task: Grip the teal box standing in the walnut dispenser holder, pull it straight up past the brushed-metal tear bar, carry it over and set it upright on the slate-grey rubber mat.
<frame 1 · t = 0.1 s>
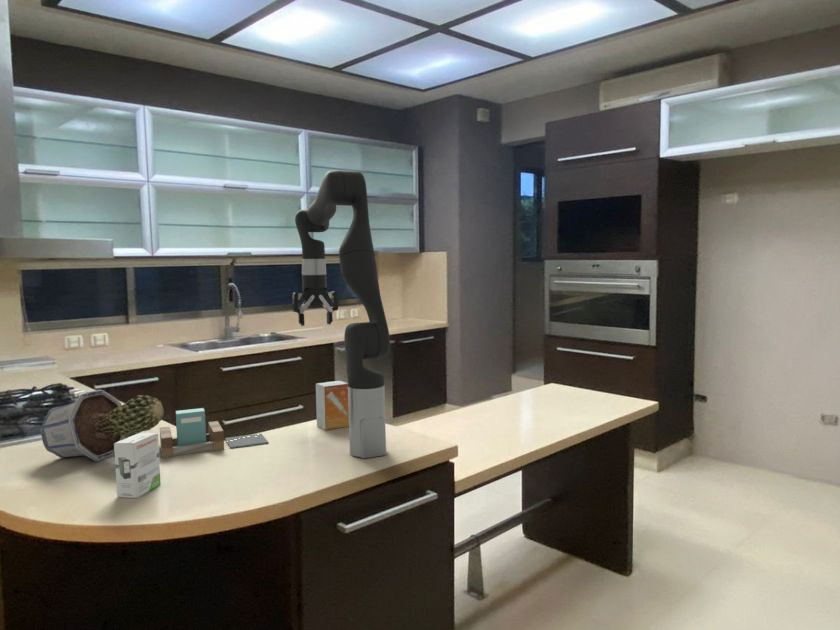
hand: (315, 324, 195), 29 cm above the counter, fingers open, 8 cm apart
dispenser: (192, 447, 164), on the counter
mat: (246, 441, 169), on the counter
ink box: (139, 491, 133), on the counter
small box: (333, 427, 184), on the counter
teal box: (192, 447, 164), resting in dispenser
potted plant: (108, 458, 157), on the counter
bracket: (103, 439, 176), on the counter
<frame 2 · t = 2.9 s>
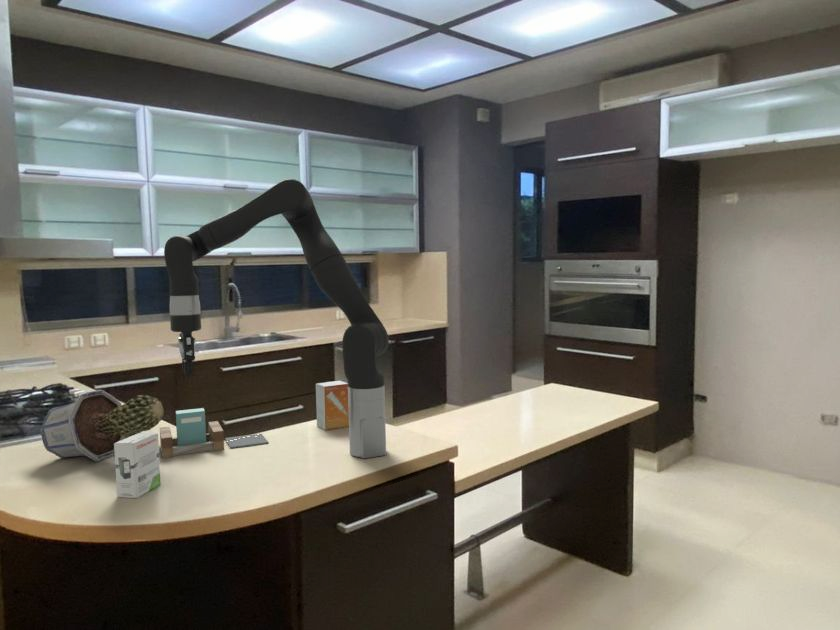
hand: (188, 373, 163), 20 cm above the counter, fingers open, 8 cm apart
nothing on the counter moved.
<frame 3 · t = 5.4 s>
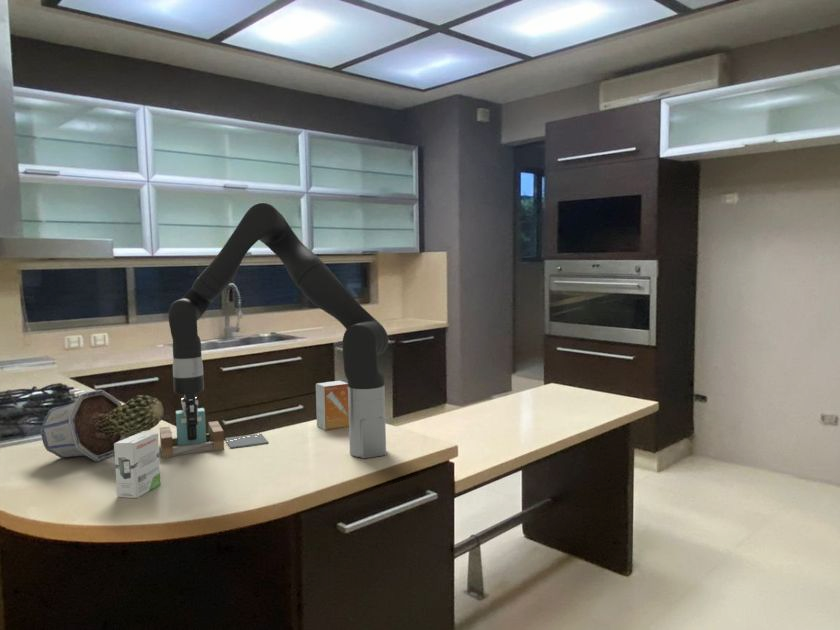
hand: (191, 437, 164), 3 cm above the counter, fingers closed on teal box, 4 cm apart
teal box: (192, 447, 164), resting in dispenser, touching gripper
everything else where it was.
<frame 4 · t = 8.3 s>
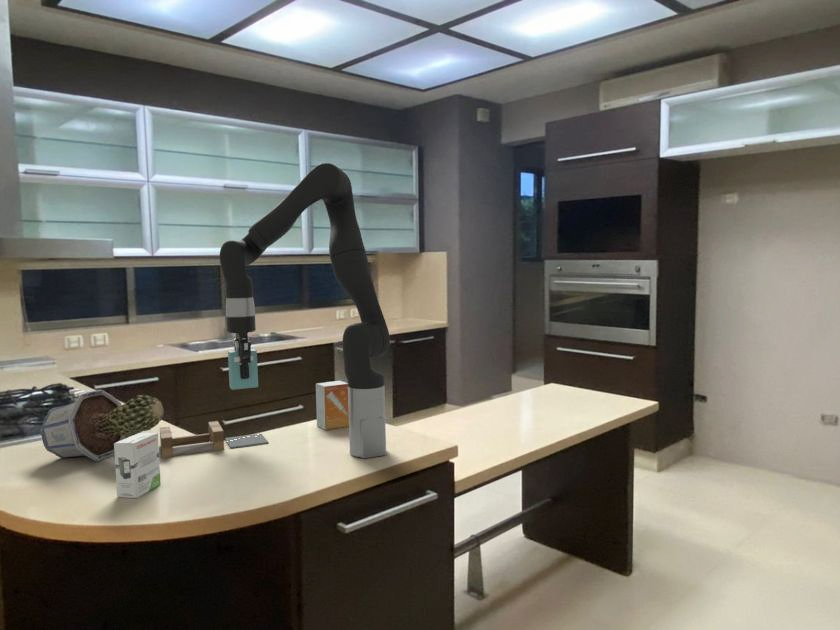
hand: (243, 377, 168), 18 cm above the counter, fingers closed on teal box, 4 cm apart
teal box: (243, 387, 168), point 15 cm above the counter, touching gripper
everything else where it was.
when the fingers open (4 cm above the counter, at t = 11.1 s): teal box stays where it is, resting on mat.
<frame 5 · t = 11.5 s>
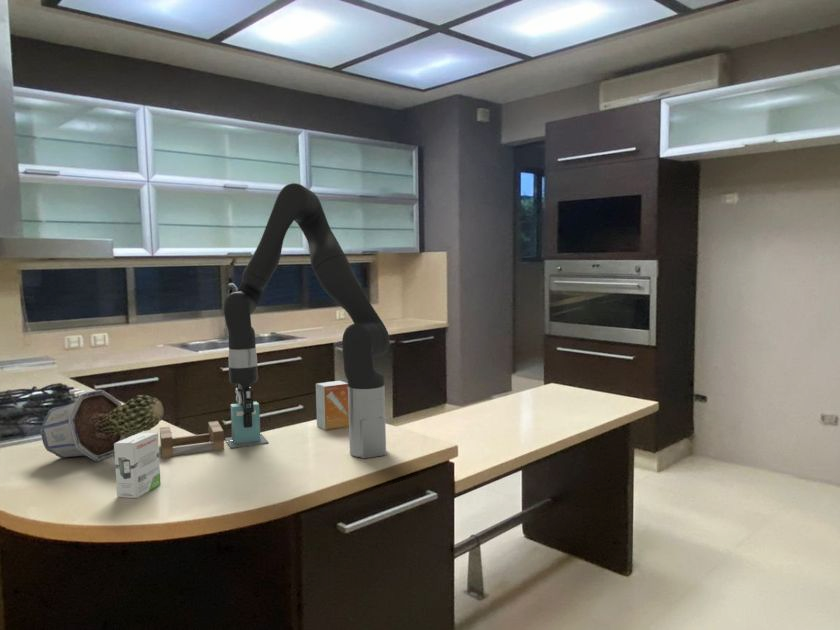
hand: (245, 424, 169), 5 cm above the counter, fingers open, 7 cm apart
teal box: (246, 440, 169), resting on mat
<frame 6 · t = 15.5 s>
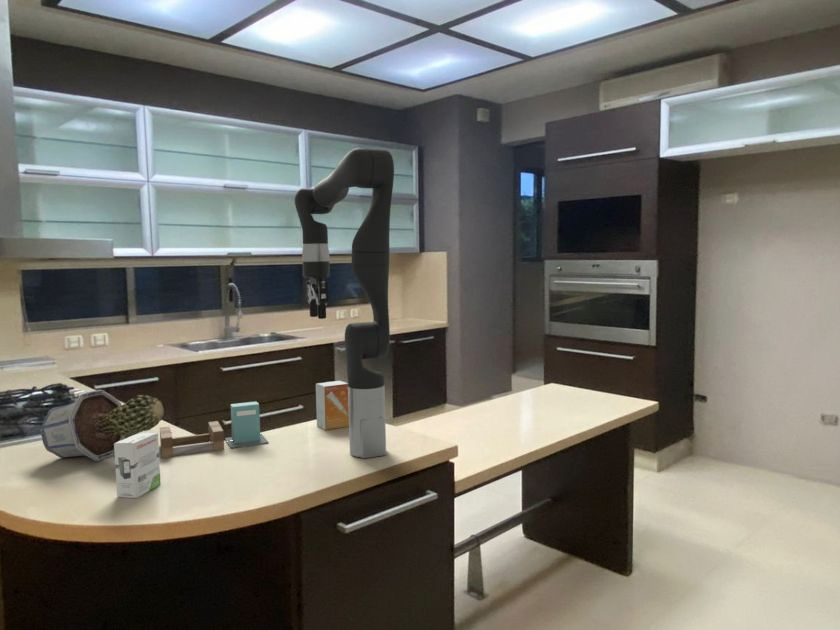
hand: (317, 317, 175), 33 cm above the counter, fingers open, 8 cm apart
at the end: teal box inside the target area on the mat (0.1 cm from its centre), point 0.4 cm above the mat's base; teal box tilted 0°; the gripper is holding nothing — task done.
